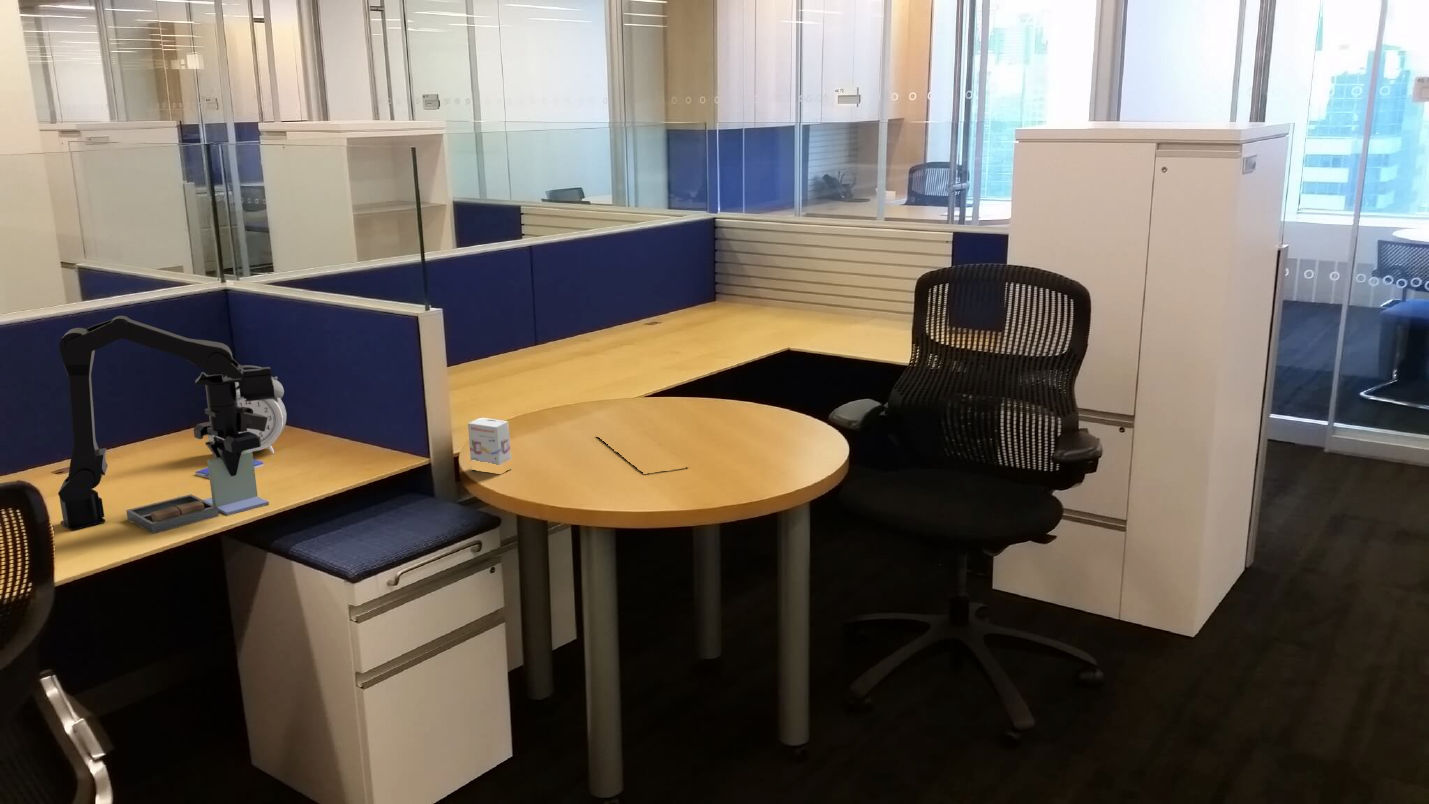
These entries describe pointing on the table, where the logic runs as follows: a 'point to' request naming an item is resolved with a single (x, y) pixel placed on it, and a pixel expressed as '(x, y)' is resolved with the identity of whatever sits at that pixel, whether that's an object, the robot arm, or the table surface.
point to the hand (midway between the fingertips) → (231, 474)
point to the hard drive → (206, 473)
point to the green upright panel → (232, 480)
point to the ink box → (489, 440)
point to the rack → (144, 518)
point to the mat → (240, 505)
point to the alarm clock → (266, 414)
